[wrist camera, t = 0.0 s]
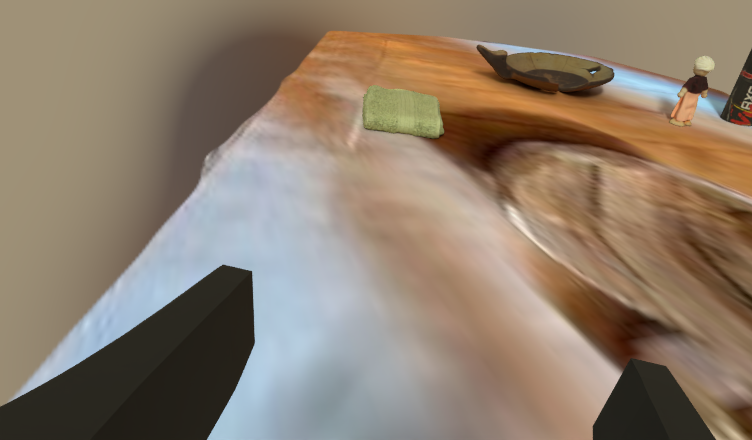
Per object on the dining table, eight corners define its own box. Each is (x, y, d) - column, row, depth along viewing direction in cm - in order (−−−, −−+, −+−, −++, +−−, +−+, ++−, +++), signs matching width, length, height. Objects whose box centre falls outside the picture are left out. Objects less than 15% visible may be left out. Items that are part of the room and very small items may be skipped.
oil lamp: (623, 112, 106) (637, 73, 102) (470, 89, 107) (478, 49, 103) (595, 81, 125) (607, 47, 121) (466, 62, 126) (473, 28, 122)
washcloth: (437, 106, 96) (440, 88, 94) (443, 144, 80) (448, 123, 79) (363, 96, 95) (365, 78, 94) (356, 132, 80) (358, 111, 78)
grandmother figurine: (678, 117, 107) (706, 52, 100) (697, 124, 104) (727, 58, 98) (659, 122, 102) (686, 54, 96) (678, 129, 100) (708, 60, 94)
